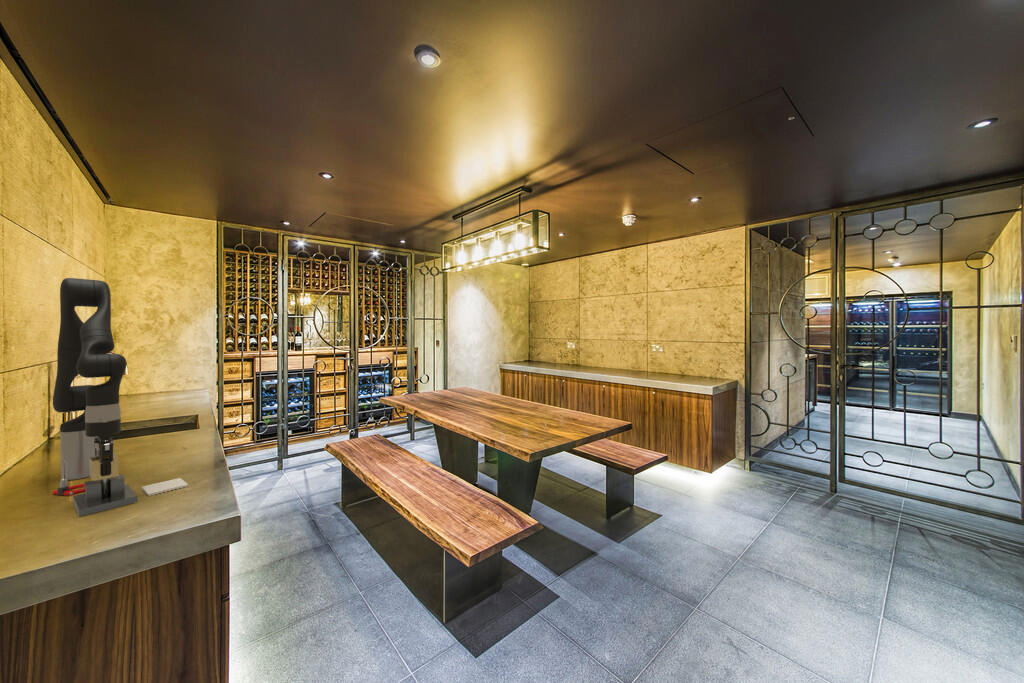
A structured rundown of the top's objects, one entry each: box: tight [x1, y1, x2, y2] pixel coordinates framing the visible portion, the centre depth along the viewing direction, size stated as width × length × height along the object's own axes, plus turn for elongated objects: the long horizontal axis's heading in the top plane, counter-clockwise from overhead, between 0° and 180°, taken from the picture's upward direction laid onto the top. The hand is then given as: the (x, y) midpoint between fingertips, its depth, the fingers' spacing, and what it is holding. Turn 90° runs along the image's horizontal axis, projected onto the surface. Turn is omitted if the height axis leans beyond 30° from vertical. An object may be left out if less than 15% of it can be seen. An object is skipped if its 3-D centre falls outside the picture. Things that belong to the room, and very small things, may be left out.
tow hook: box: [51, 455, 85, 497], centre depth 129 cm, size 8×13×9 cm
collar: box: [89, 452, 120, 481], centre depth 119 cm, size 6×6×6 cm
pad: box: [141, 477, 189, 497], centre depth 130 cm, size 10×10×1 cm
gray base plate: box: [72, 473, 138, 518], centre depth 119 cm, size 16×12×12 cm
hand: (104, 472), depth 119 cm, fingers closed on collar, 5 cm apart
